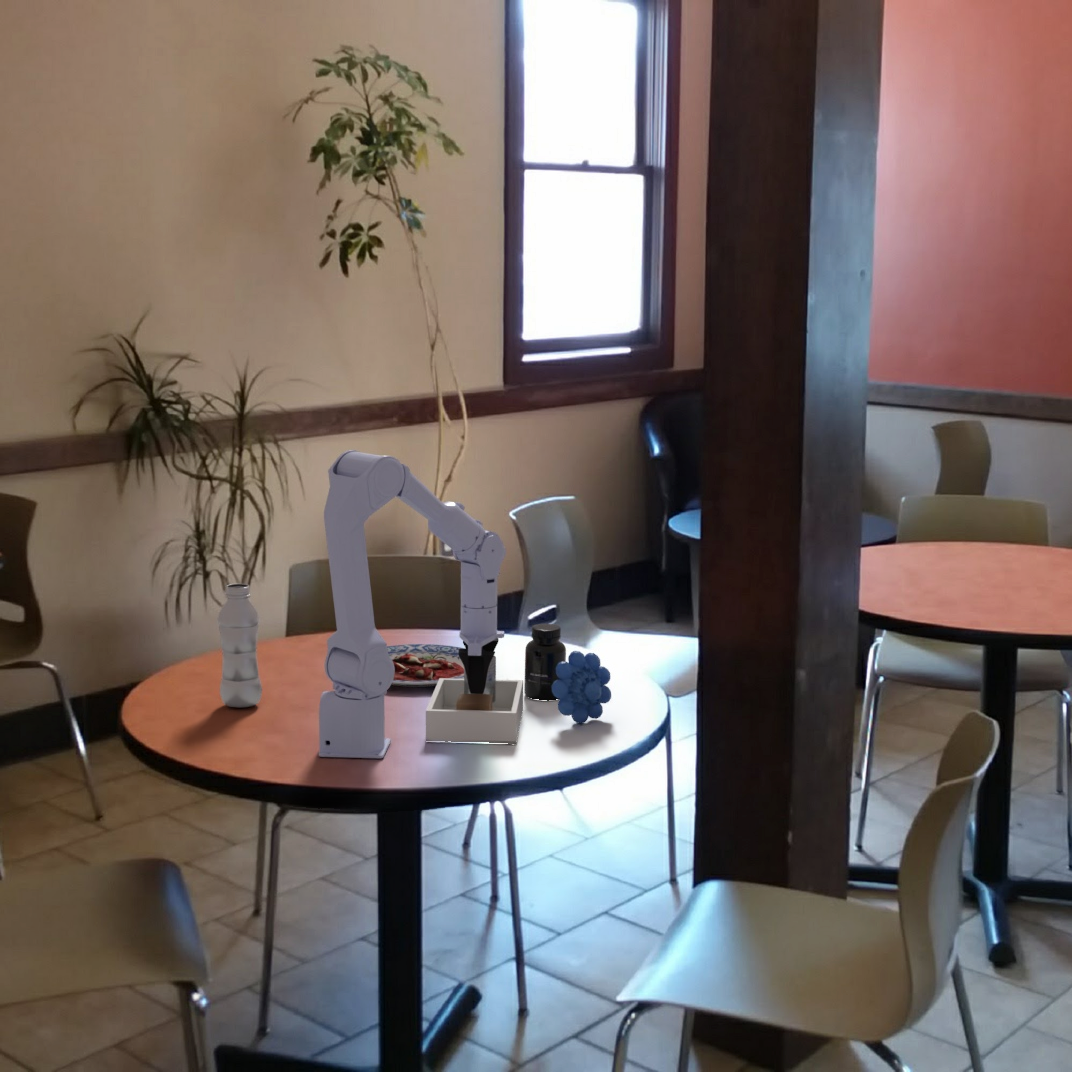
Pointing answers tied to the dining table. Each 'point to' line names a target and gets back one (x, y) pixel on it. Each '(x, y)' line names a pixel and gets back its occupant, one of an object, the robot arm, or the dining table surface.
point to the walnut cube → (474, 702)
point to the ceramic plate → (425, 664)
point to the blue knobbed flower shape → (581, 686)
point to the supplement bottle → (543, 661)
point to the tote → (474, 714)
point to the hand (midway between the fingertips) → (478, 688)
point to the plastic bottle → (239, 648)
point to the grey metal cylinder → (490, 681)
